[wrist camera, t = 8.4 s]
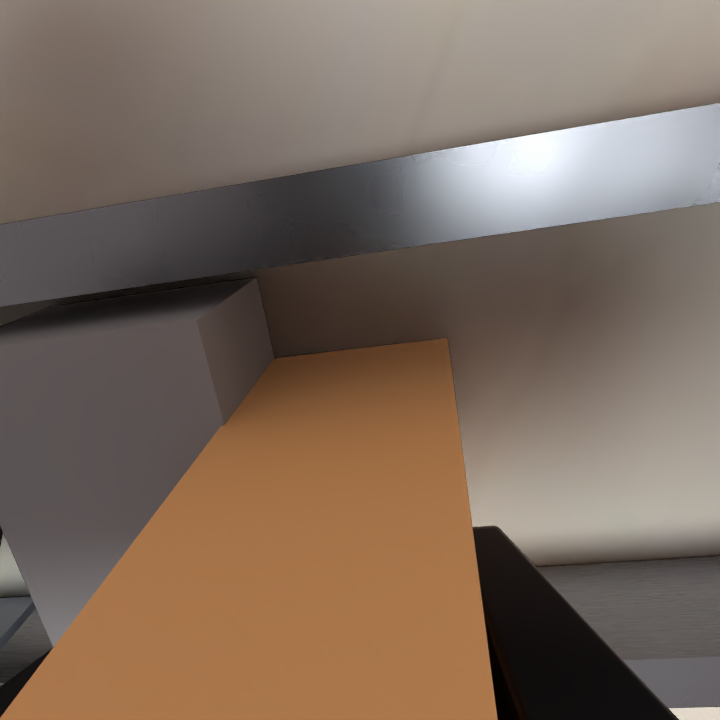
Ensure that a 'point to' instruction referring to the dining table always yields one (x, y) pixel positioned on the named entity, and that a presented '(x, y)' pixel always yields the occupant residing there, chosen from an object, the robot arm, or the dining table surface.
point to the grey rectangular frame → (408, 229)
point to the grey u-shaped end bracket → (13, 616)
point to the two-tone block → (236, 518)
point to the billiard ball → (1, 534)
